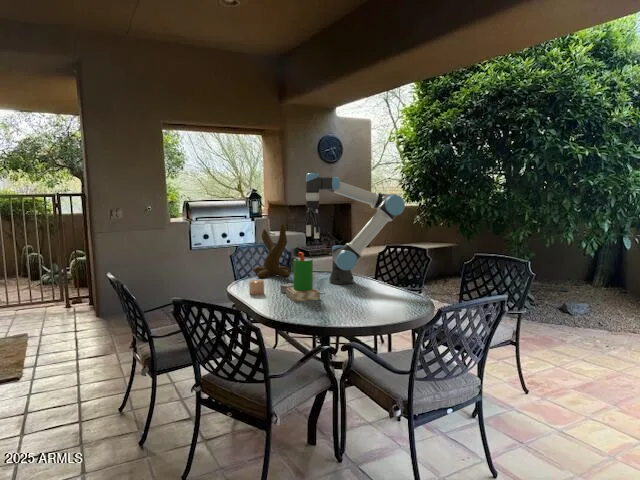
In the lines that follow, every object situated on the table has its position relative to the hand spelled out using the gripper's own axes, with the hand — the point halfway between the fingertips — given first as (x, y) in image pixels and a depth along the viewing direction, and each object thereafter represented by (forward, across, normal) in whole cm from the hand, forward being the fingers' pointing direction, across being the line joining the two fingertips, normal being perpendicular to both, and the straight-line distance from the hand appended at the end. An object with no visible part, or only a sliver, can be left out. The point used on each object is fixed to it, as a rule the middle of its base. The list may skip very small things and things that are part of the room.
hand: (312, 237), depth 251 cm
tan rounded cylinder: (+30, +3, -34) cm, 45 cm away
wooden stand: (+30, -48, -12) cm, 58 cm away
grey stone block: (+30, +4, -16) cm, 34 cm away
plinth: (+30, +20, -13) cm, 38 cm away
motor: (+25, +20, -13) cm, 35 cm away
